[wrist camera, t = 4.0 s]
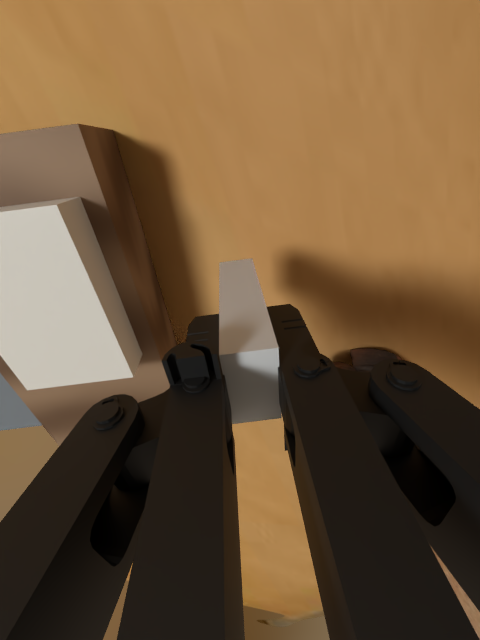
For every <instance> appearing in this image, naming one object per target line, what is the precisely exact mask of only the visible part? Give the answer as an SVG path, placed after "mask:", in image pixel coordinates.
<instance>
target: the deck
mask: <svg viewBox="0 0 480 640" xmlns="http://www.w3.org/2000/svg"><path fill="white" fill-rule="evenodd" d="M75 197H80V198H81V201H82V203H83V206H84V208H85V211H86V213H87V216H88V218H89V221H90V223H91V226H92V228H93V231H94V233H95V236H96V238H97V241H98V243H99V246H100V248H101V251H102V254H103V256H104V259H105V261H106V264H107V266H108V269H109V271H110V274H111V276H112V279H113V281H114V284H115V286H116V289H117V291H118V294H119V296H120V299H121V301H122V304H123V306H124V309H125V312H126V314H127V317H128V319H129V322H130V324H131V327H132V329H133V332H134V334H135V337H136V339H137V342H138V344H139V347H140V349H141V352H142V357H141V359H140V362H139V364H138V367H137V370H136V372H135V375H134V377H132V378H124V379H116V380H108V381H100V382H91V383H83V384H75V385H67V386H59V387H51V388H43V389H34V390H27V389H26V388H25V387H24V385H23V384H22V383H21V382H20V380H19V379H18V378H17V376H16V375H15V374H14V373H13V371H12V370H11V369H10V367H9V366H8V365H7V363H6V362H5V361H4V360H3V358H2V357H1V356H0V373H1V375H2V376H3V377H4V378H5V380H6V381H7V382H8V383H9V385H10V386H11V387H12V388H13V390H14V391H15V392H16V393H17V394H18V396H19V397H20V398H21V399H22V401H23V402H24V403H25V404H26V406H27V407H28V408H29V409H30V411H31V412H32V413H33V414H34V416H35V417H36V418H37V419H38V420H39V422H40V423H41V424H42V425H43V427H44V428H45V429H46V430H47V432H48V433H49V434H50V435H51V437H52V438H53V439H54V440H55V441H56V443H57V444H58V445H59V446H60V445H61V443H62V442H63V441H64V440H65V438H66V437H67V436H68V434H69V433H70V432H71V431H72V429H73V428H74V427H75V425H76V424H77V423H78V422H79V420H80V419H81V418H82V416H83V415H84V414H85V413H86V412H87V411H88V410H89V409H90V408H91V407H92V406H93V405H94V404H96V403H98V402H99V401H101V400H102V399H104V398H107V397H110V396H112V395H119V394H126V395H130V396H132V397H133V398H134V399H135V400H136V401H137V402H138V403H139V402H141V401H144V400H147V399H149V398H152V397H154V396H157V395H159V394H161V393H163V392H165V391H166V390H168V389H169V388H170V384H169V381H168V379H167V376H166V373H165V370H164V367H163V364H162V362H161V361H162V359H163V357H164V355H165V354H166V353H167V352H168V351H169V350H170V349H171V348H173V347H175V346H177V343H176V340H175V336H174V333H173V330H172V326H171V323H170V320H169V316H168V313H167V310H166V306H165V303H164V300H163V296H162V293H161V290H160V286H159V283H158V280H157V276H156V273H155V270H154V266H153V263H152V260H151V256H150V253H149V249H148V246H147V243H146V239H145V236H144V233H143V229H142V226H141V223H140V219H139V216H138V213H137V209H136V206H135V203H134V199H133V196H132V193H131V189H130V186H129V183H128V179H127V176H126V173H125V169H124V166H123V163H122V159H121V156H120V152H119V149H118V146H117V142H116V139H115V136H114V132H113V130H110V129H104V128H98V127H93V126H87V125H82V124H73V125H65V126H58V127H50V128H42V129H35V130H27V131H19V132H12V133H4V134H0V207H5V206H13V205H21V204H28V203H36V202H44V201H52V200H59V199H67V198H75Z"/></svg>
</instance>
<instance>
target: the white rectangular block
mask: <svg viewBox="0 0 480 640" xmlns="http://www.w3.org/2000/svg"><path fill="white" fill-rule="evenodd" d="M0 356H1V357H2V358H3V360H4V361H5V362H6V363H7V365H8V366H9V367H10V369H11V370H12V371H13V373H14V374H15V375H16V376H17V378H18V379H19V380H20V382H21V383H22V384H23V385H24V387H25V388H26V389H27V390H34V389H43V388H51V387H59V386H67V385H75V384H83V383H91V382H100V381H108V380H116V379H124V378H132V377H134V375H135V372H136V370H137V367H138V364H139V362H140V359H141V357H142V352H141V349H140V347H139V344H138V342H137V339H136V337H135V334H134V332H133V329H132V327H131V324H130V322H129V319H128V317H127V314H126V312H125V309H124V306H123V304H122V301H121V299H120V296H119V294H118V291H117V289H116V286H115V284H114V281H113V279H112V276H111V274H110V271H109V269H108V266H107V264H106V261H105V259H104V256H103V254H102V251H101V248H100V246H99V243H98V241H97V238H96V236H95V233H94V231H93V228H92V226H91V223H90V221H89V218H88V216H87V213H86V211H85V208H84V206H83V203H82V201H81V198H80V197H75V198H67V199H59V200H52V201H44V202H36V203H28V204H21V205H13V206H5V207H0Z"/></svg>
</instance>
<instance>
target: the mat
mask: <svg viewBox="0 0 480 640" xmlns="http://www.w3.org/2000/svg"><path fill="white" fill-rule="evenodd" d="M41 425H42V424H41V423H40V422H39V420H38V419H37V418H36V417H35V416H34V414H33V413H32V412H31V411H30V409H29V408H28V407H27V406H26V404H25V403H24V402H23V401H22V399H21V398H20V397H19V396H18V394H17V393H16V392H15V391H14V390H13V388H12V387H11V386H10V385H9V383H8V382H7V381H6V380H5V378H4V377H3V376H2V375H1V373H0V430H7V429H16V428H24V427H32V426H41Z"/></svg>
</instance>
